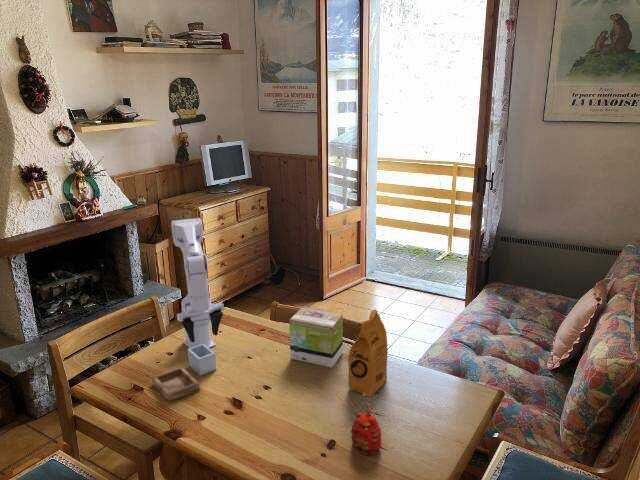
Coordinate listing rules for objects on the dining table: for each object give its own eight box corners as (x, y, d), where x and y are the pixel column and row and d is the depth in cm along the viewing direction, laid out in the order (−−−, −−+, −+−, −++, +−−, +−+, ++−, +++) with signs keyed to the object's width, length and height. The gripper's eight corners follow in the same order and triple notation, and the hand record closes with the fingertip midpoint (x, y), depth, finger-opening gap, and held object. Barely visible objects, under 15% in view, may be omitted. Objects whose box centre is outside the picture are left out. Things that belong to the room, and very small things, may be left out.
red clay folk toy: (346, 449, 128) (346, 397, 124) (359, 433, 134) (359, 382, 129) (374, 460, 124) (375, 407, 120) (386, 443, 130) (387, 391, 125)
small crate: (189, 365, 167) (187, 349, 165) (205, 359, 170) (203, 343, 168) (200, 376, 161) (198, 359, 159) (216, 370, 164) (214, 353, 162)
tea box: (289, 360, 169) (287, 318, 165) (302, 345, 178) (300, 306, 173) (333, 368, 164) (332, 326, 159) (343, 353, 172) (343, 312, 168)
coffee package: (342, 389, 153) (342, 321, 146) (362, 369, 163) (363, 305, 156) (372, 399, 148) (373, 329, 141) (391, 378, 158) (393, 312, 151)
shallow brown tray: (153, 384, 157) (152, 377, 156) (182, 373, 163) (182, 366, 162) (169, 402, 148) (168, 395, 147) (200, 390, 154) (199, 383, 153)
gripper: (181, 303, 150) (187, 347, 152) (226, 292, 158) (231, 334, 161) (172, 298, 155) (177, 341, 157) (216, 288, 164) (220, 329, 166)
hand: (203, 337), depth 159 cm, fingers open, 7 cm apart
